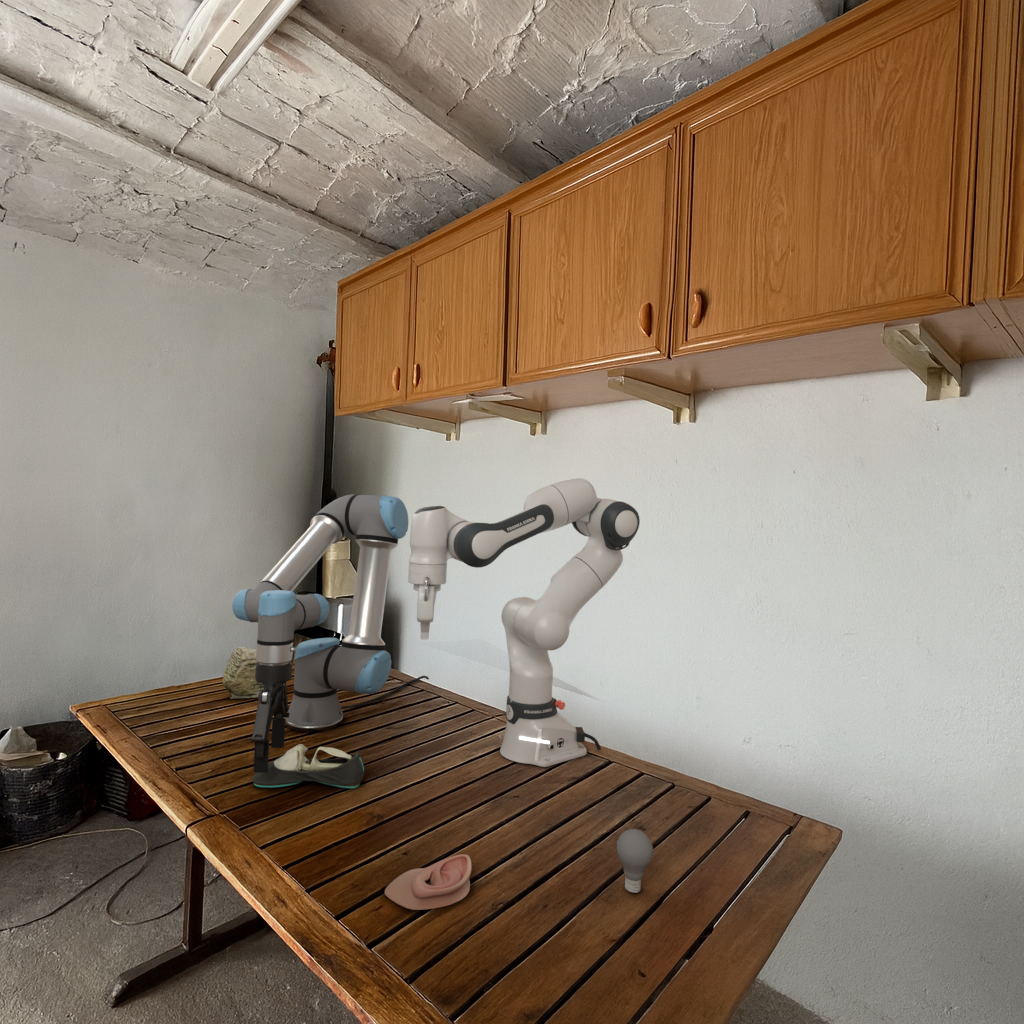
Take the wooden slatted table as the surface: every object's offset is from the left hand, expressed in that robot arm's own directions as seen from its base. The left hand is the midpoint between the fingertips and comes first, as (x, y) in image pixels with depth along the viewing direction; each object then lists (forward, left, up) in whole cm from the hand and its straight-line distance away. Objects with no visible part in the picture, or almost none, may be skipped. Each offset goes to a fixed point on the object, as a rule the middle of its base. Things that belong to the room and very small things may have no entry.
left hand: (269, 759), depth 138 cm
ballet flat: (-6, +6, -6) cm, 10 cm away
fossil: (-29, -59, -6) cm, 66 cm away
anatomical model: (+2, +53, -6) cm, 53 cm away
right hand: (-28, +18, +27) cm, 43 cm away
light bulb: (-20, +78, -6) cm, 81 cm away
